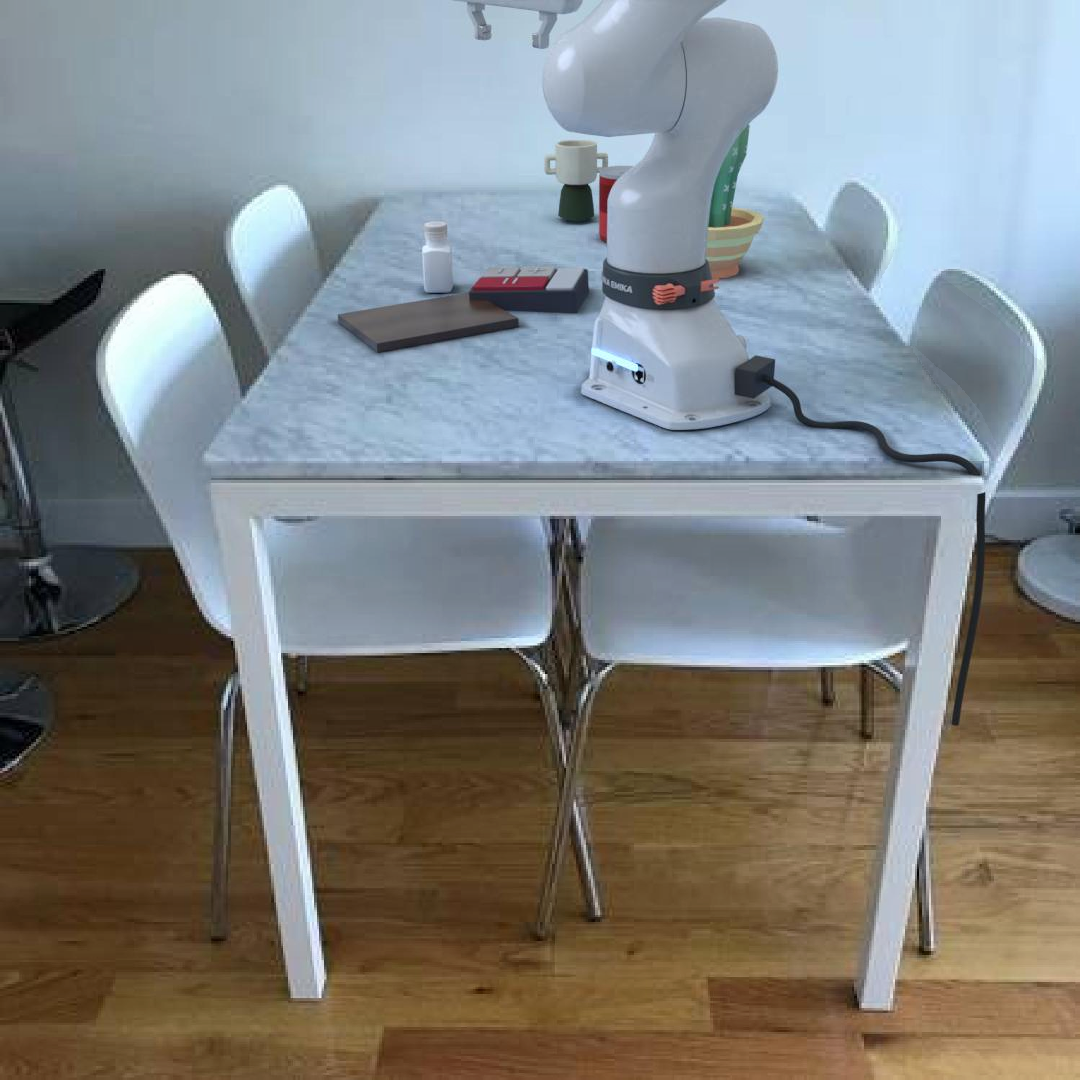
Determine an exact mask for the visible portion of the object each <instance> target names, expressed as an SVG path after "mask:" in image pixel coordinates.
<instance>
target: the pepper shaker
mask: <svg viewBox="0 0 1080 1080" xmlns="http://www.w3.org/2000/svg"><path fill="white" fill-rule="evenodd" d="M423 229H424V238H425V245H423V246H422V250H421V255H422V256H421V257H422V273H423V289H424V291H425V292H426V293H428V294H439V293H440V294H442V293H443V294H444V293H447V294H448V293H451V292H452V290H453V286H454V272H453V271H454V270H453V253H452V251H453V250H452V245H451V244H448V224H447V222H445V221H437V220H435V221H427V222H425V223H424V224H423Z"/></svg>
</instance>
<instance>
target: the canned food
mask: <svg viewBox="0 0 1080 1080" xmlns="http://www.w3.org/2000/svg"><path fill="white" fill-rule="evenodd" d="M634 166H635V165H612V166H608V167H605V168H603V169H601V170H600V173H598V174H599V175H598V176H599V178H598V179H599V180H598V192H599V193H598V234H599V239H600V240H601V241H602V242H604V243H607V203H608V196H609V193H610V191H611V189H612V187H613V185H614V183H615V182H616V181H617V179H618V178H619V177H620V176H621V175H623V174H624V173H625V172H627V171H628V170H630V169H631V168H633V167H634Z"/></svg>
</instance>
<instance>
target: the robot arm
mask: <svg viewBox="0 0 1080 1080" xmlns="http://www.w3.org/2000/svg"><path fill="white" fill-rule="evenodd" d="M453 1H455V2H464V3H466V11H467V15H468V16H469V18H470V20H471V22H472V25H473V26H474V39H476V40H477V41H490V40H491V39H492V24H487V20H486V18H485V15H484V13H483V11H485V9H486V6H494V7H501V8H502V7H503V8H508V9H509V8H511V9H518V10H524V11H525V10H527V11H533V12H538V20H539V21H540V22H541V24H540V27H539V29H538V31H537V32H534V33H532V34H531V36H532V37H531V39H532V43H531V45H532V47H533V48H534V49H540V50H545V49H548V48H549V46H550V33H551V32H552V30H553V28H554V27H555V25H556V22H557V20H558V15H567V14H572V13H576V12H577V11H579V8H580V7H581V6H582V5H583V1H584V0H453ZM727 1H728V0H601V1H600V2H599V3H598V4H597V6H596V7H595V8H594V9H592V11H591V12H590V13H589V14H588V15H587V16H586V17H585V18H583V20H581V21H580V22H579V23H577V24H576V25H575V26H573V27H571V28H570V29H569V30H567V31H566V32H564V33H562V34H561V35H560V36H558V37H557V39H556V40H555V42H554V43H553V44H552V46H551V48H550V49H549V51H548V53H547V56H546V58H545V62H544V65H543V70H542V80H541V81H542V82H541V83H542V93H543V98H544V101H545V103H546V106H547V109H548V111H549V112H550V113H549V114H550V115H551V116H552V117H553V119H554V120H555V122H556V123H557V124H558V125H559V126H560V127H561V128H562V129H563V130H564V131H566V132H570V133H576V134H581V135H589V136H597V137H604V138H605V137H606V138H612V137H622V136H623V137H625V136H636V135H637V136H638V135H648V134H649V135H650V134H654V136H653V138H652V142H651V144H650V146H649V147H648V150H647V151H646V153H645V154H644V156H643V157H642V158H641V160H640V161H639V162H638V163H637V164H635V165H633V166H634V167H633V168H631V169H630V170H628V171H627V172H625V173H624V174H623V175H621V176H620V177H619V178H618V179H617V181H616V182H615V183H614V185H613V187H612V189H611V191H610V193H609V196H608V203H607V242H606V258H604V260H603V262H602V271H601V282H602V284H601V285H602V286H601V291H602V293H603V294H604V301H603V304H602V307H601V309H600V311H599V314H598V315H597V316H596V318H595V321H594V325H593V333H592V344H591V356H590V365H589V366H590V367H589V368H590V369H589V377H588V378H587V379H585V380H584V381H583V383H581V389H580V393H581V395H582V396H585V397H587V398H590V399H592V400H595V401H597V402H599V403H602V404H604V405H606V406H609V407H612V408H614V409H617V410H619V411H621V412H624V413H626V414H629V415H631V416H633V417H636V418H639V419H641V420H644V421H646V422H648V423H650V424H653V425H655V426H658V427H660V428H663V429H667V430H671V431H688V430H689V431H691V430H700V429H701V430H702V429H709V428H715V427H721V426H725V425H729V424H734V423H737V422H741V421H746V420H747V419H752V418H754V417H756V416H759V415H760V414H761V415H762V414H763V413H764V412H766V411H768V410H769V409H770V408H771V397H769V396H768V395H767V394H766V393H765V392H766V391H767V390H769V389H770V388H774V389H776V390H778V391H780V392H781V393H783V394H784V395H785V396H786V397H787V398H788V399H789V400H790V402H791V404H792V408H793V413H794V415H795V418H796V419H797V421H799V422H800V423H801V424H802V425H804V426H806V427H809V428H815V429H829V430H831V429H832V430H834V429H835V430H837V429H839V430H843V429H844V430H845V429H856V430H862V431H865V432H868V433H870V434H871V435H873V436H874V437H875V439H876V441H877V443H878V446H879V448H880V449H881V451H882V452H883V453H884V454H885V455H887V456H888V457H890V458H892V459H894V460H896V461H900V462H903V463H915V464H917V463H933V462H947V463H953V464H956V465H959V466H960V467H963V468H964V469H965V470H966V471H967V472H968V473H969V474H970V475H971V476H976V477H980V476H982V474H981V473H980V471H979V469H978V468H977V467H976V465H974V464H973V463H972V462H971V461H969V460H968V459H967V458H964V457H962V456H961V455H957V454H954V453H953V454H952V453H944V452H941V453H922V454H921V453H920V454H909V453H903V452H899V451H897V450H895V449H893V448H892V447H891V446H890V445H889V444H888V442H887V440H886V438H885V435H884V433H883V432H882V431H881V430H880V429H879V428H878V427H876V426H874V425H873V424H871V423H869V422H868V423H867V422H865V421H860V420H842V421H841V420H840V421H829V422H828V421H827V422H826V421H825V422H824V421H818V420H813V419H811V418H809V417H807V416H805V415H804V413H803V411H802V405H801V402H800V401H801V400H800V398H799V397H798V395H797V394H796V393H795V392H794V391H793V390H792V389H791V388H790V387H788V386H787V385H785V384H784V383H782V382H781V381H778V380H776V379H775V368H776V358H771V357H765V356H761V355H754V356H752V357H751V358H750V357H749V352H748V350H747V341H746V339H745V336H743V335H740V334H739V335H737V334H736V332H735V331H734V330H733V328H732V326H731V324H730V323H729V322H728V320H727V319H726V317H725V315H724V314H723V312H722V311H721V310H720V308H719V307H718V304H717V303H716V301H715V299H714V298H715V296H716V292H715V290H718V289H720V286H714V284H717V283H719V282H720V281H721V280H720V278H718V279H713V277H712V272H711V270H710V265H709V262H708V260H707V259H706V248H707V235H708V223H709V214H710V205H711V198H712V193H713V188H714V185H715V181H716V178H717V175H718V173H719V170H720V168H721V166H722V163H723V161H724V159H725V157H726V155H727V153H728V152H729V150H730V148H731V146H732V145H733V143H734V142H735V140H736V139H737V137H738V136H739V135H740V133H741V132H742V131H743V130H744V129H745V127H746V126H747V125H748V124H749V125H750V123H751V122H753V120H755V119H756V118H758V116H759V115H761V114H762V113H763V112H764V111H765V110H766V108H767V107H768V105H769V103H770V102H771V100H772V98H773V96H774V93H775V90H776V87H777V83H778V79H779V63H778V56H777V51H776V48H775V46H774V44H773V41H772V40H771V38H770V36H769V35H768V33H767V32H766V31H765V30H764V29H763V28H762V27H761V26H760V25H758V24H755V23H750V22H746V21H743V20H742V21H741V20H738V19H731V18H725V17H718V16H717V17H704V16H706V15H707V14H709V13H710V12H712V11H713V10H715V9H716V8H718V7H720V6H722V5H723V4H724V3H725V2H727ZM975 517H976V522H975V523H976V562H975V563H976V564H975V580H974V589H973V598H972V605H971V611H970V617H969V622H968V629H967V634H966V639H965V644H964V648H963V655H962V660H961V664H960V669H959V675H958V678H957V679H958V680H957V685H956V690H955V691H956V692H955V695H954V701H953V702H954V703H953V708H952V717H951V725H952V726H955V727H958V726H960V721H961V713H962V706H963V701H964V694H965V689H966V685H967V678H968V673H969V668H970V663H971V658H972V654H973V649H974V643H975V638H976V634H977V628H978V624H979V623H978V622H979V618H980V612H981V604H982V597H983V589H984V588H983V587H984V577H985V564H986V563H985V561H986V523H985V521H986V518H985V517H986V491H984V492H981V493H977V494H976V515H975Z"/></svg>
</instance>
